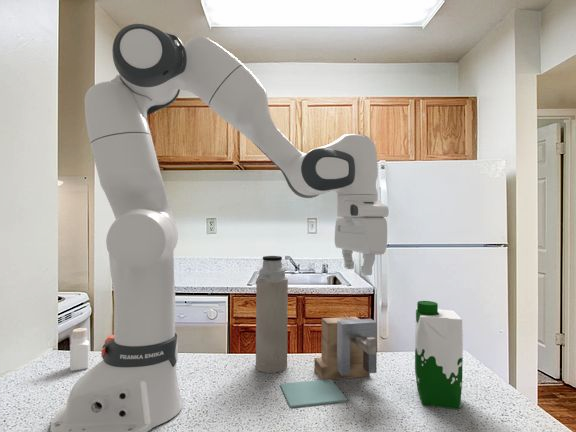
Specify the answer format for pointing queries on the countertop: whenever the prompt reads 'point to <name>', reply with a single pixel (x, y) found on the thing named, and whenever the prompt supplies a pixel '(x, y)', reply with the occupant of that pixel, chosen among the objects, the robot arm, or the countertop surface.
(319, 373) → the wooden peg hook block
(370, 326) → the grey arched block
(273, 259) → the thermos bottle
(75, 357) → the salt shaker
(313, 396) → the mat
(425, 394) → the milk carton
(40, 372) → the countertop surface
